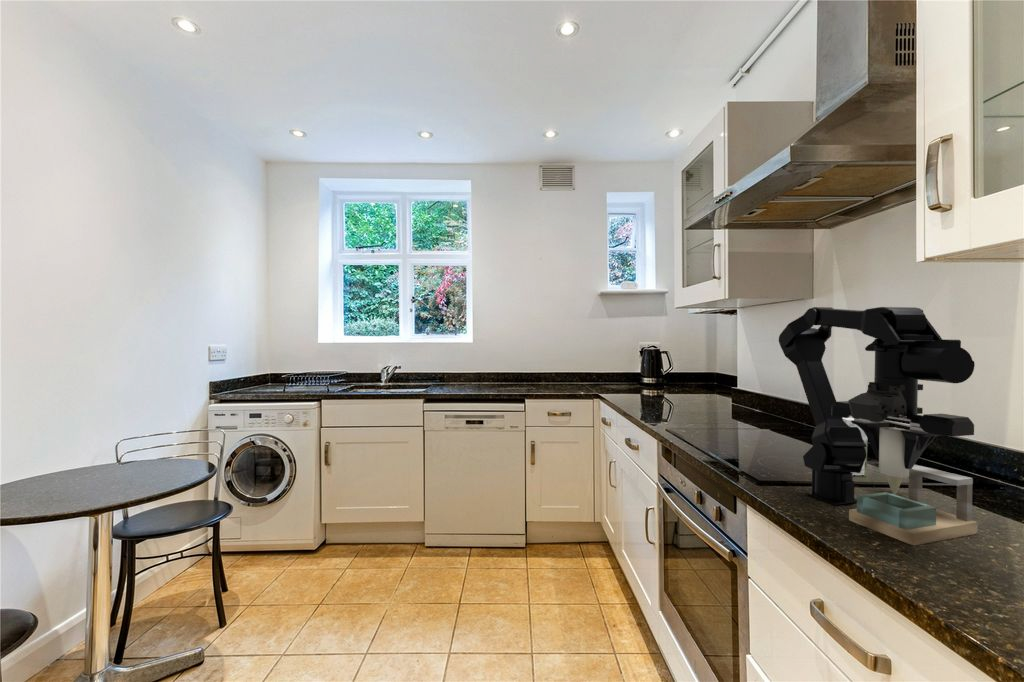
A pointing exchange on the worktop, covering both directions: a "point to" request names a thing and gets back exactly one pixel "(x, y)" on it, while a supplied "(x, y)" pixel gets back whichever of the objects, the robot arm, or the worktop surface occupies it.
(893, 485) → the ice cream cone
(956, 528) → the socket board
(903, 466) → the peg
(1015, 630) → the worktop surface
